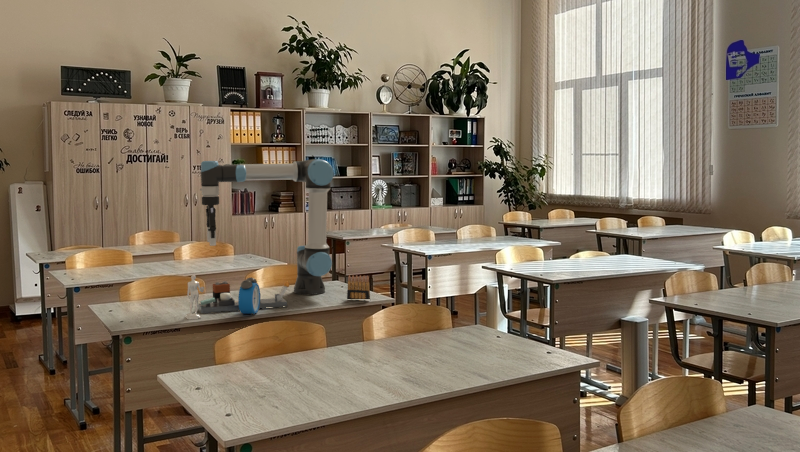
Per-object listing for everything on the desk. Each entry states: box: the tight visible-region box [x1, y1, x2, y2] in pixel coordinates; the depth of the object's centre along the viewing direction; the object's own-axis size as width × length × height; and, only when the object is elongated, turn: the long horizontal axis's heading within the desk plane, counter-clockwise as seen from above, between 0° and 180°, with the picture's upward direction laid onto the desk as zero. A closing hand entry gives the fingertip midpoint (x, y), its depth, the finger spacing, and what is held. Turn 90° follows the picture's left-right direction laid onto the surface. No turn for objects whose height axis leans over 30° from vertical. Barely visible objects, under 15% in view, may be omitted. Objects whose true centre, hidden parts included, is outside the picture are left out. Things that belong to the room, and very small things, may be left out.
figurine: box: [184, 274, 205, 320], centre depth 304 cm, size 8×7×18 cm
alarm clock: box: [237, 277, 261, 315], centre depth 312 cm, size 13×6×15 cm, turn 176°
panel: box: [198, 293, 288, 314], centre depth 323 cm, size 37×9×5 cm, turn 111°
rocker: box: [199, 297, 216, 305], centre depth 317 cm, size 6×3×1 cm, turn 111°
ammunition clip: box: [346, 274, 371, 300], centre depth 340 cm, size 11×2×12 cm, turn 76°
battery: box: [212, 280, 231, 303], centre depth 332 cm, size 4×7×10 cm, turn 121°
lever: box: [278, 281, 290, 298], centre depth 329 cm, size 3×3×8 cm
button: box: [220, 292, 232, 301], centre depth 320 cm, size 4×4×3 cm
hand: (211, 243), depth 327 cm, fingers open, 13 cm apart
